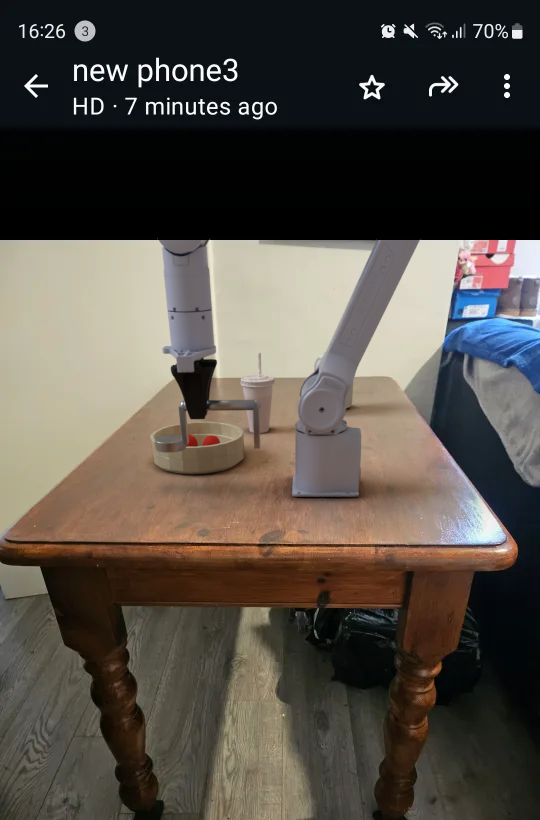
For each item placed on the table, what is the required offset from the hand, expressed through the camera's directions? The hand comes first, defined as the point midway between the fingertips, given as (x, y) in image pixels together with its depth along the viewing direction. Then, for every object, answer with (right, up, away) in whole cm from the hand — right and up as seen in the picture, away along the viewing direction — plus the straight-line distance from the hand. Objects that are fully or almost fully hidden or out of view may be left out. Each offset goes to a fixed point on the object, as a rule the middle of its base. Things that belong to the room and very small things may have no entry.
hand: (198, 416), depth 82 cm
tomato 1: (-4, +1, +17) cm, 18 cm away
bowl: (-2, -2, +16) cm, 16 cm away
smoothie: (+8, +7, +31) cm, 33 cm away
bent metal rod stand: (+1, -4, +2) cm, 5 cm away
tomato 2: (0, +1, +17) cm, 17 cm away
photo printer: (+24, +15, +43) cm, 51 cm away
